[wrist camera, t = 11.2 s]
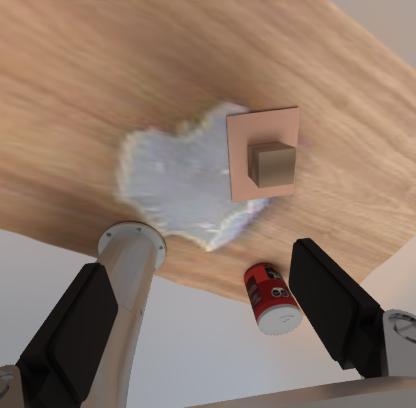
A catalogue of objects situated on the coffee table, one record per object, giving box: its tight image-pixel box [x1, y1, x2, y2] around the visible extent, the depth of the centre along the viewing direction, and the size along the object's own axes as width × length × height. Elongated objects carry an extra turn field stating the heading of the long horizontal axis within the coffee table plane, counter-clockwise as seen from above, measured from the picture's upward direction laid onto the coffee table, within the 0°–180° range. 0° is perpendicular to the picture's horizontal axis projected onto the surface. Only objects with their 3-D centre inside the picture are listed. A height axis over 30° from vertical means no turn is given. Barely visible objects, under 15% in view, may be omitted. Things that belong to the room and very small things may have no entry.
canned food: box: [244, 263, 302, 335], centre depth 40 cm, size 8×8×11 cm
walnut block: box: [247, 141, 297, 188], centre depth 30 cm, size 5×5×6 cm
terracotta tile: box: [226, 107, 300, 202], centre depth 33 cm, size 14×11×1 cm
